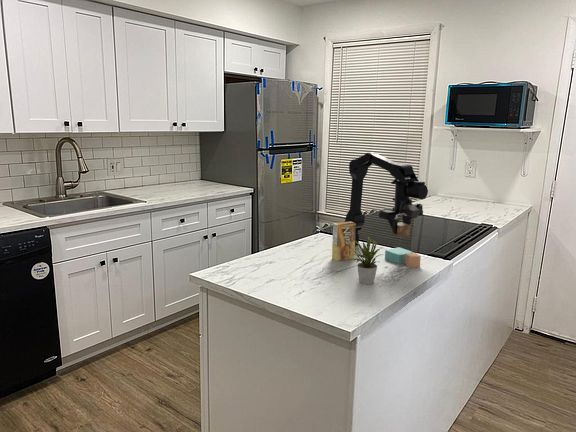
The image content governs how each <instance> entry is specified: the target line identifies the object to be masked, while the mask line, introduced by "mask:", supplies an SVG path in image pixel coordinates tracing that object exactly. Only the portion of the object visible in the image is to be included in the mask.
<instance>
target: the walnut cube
mask: <svg viewBox="0 0 576 432" xmlns="http://www.w3.org/2000/svg"><path fill="white" fill-rule="evenodd" d="M410 229H411V224H410V225H409V224H406V223H403V221H401V222H400V221H398V224H397V234H394V233H393V230H392V229H391V236H393V237H396V238H399V239H402V238H408V237H410Z"/></svg>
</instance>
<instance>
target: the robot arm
mask: <svg viewBox="0 0 576 432" xmlns="http://www.w3.org/2000/svg"><path fill="white" fill-rule="evenodd" d="M372 165H375V166H377V167H379V168H381V169H383V170H385V171H387V172H389V174H390V175H391V176H392V177H393V178H394V179H393V180H392V181H391V182H390V183H391V185H394V186H395V189H394V197H393V198H392V201H394V207H391V210H390V209H384V210H380V211H379V212H378V218H381V219H384V220H386V221H388V224H389V225H390V227H391V231H392V230H393V233H394V234H397V224H398V223H399V222H400V220H401V219H400V218H399V217H398V216H402V222H403V223H406V224H409V225H410V226H411V223H412V222H413V220H415V219H417V218H418V217H421V216H423V215H424V210H423V209H424V207H423V204H422V203H416V204H413V199H416V200H426V198H427V197H428V194H429V190H428V186H427V185H426V182H425V181H419V179H418V177H417V176H416V174H415V171H414V169H413V166H412V165H411V164H407V163H401V162H396V161H394V160H392V159H389V158H387V157H385V156H383V155H380V154H378V153H377V152H375V151H374V152H371V151H370V152H366V153H365V154H362V155H361V156H359V157H356V158H354V159H352V160H351V161H350V162H349V164H348V169H349V171H348V173H349V174H350V177H351V189H350V202H349V205H350V206H349V210H348V212H347V213H346V215H345V219H344V222H350V221H351V222H354V223H356V231H355V241H357V242H358V243H359V244H360V233H359V231H362V228H363V226H364V223H366V221H365V220H366V219H365V217H366V215H365V214H364V213H363V212H362V198H363V189H364V187H363V186H364V179H365V178H366V176H367V174H368V171H369V167H371V166H372ZM355 246H359V245H358V244H357V243H356V242H355Z"/></svg>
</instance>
